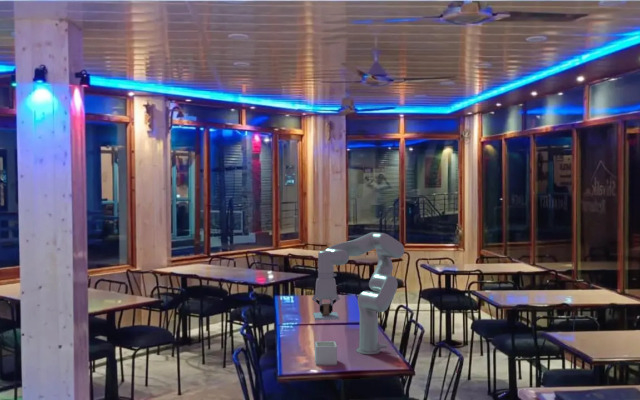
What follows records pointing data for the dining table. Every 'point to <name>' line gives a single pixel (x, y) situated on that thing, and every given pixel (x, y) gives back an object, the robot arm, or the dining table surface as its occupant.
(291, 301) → the dining table surface
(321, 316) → the lid
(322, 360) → the storage box
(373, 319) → the robot arm
